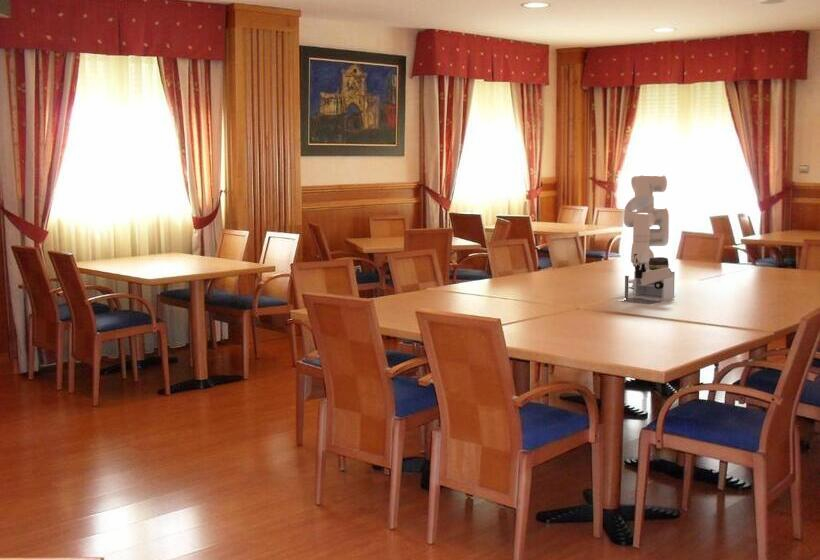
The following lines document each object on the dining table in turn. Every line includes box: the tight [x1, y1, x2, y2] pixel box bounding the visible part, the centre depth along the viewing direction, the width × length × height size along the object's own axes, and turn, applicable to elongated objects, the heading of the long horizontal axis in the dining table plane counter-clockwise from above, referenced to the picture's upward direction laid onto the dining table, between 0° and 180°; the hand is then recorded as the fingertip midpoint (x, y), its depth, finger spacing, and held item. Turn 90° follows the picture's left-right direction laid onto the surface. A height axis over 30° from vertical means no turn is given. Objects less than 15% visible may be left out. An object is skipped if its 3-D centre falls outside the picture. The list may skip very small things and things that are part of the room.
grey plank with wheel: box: [640, 266, 673, 289], centre depth 463 cm, size 4×10×15 cm
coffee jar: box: [648, 256, 670, 270], centre depth 489 cm, size 10×8×19 cm
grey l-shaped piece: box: [624, 275, 662, 305], centre depth 468 cm, size 18×11×11 cm, turn 47°
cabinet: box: [633, 270, 675, 302], centre depth 477 cm, size 16×10×13 cm, turn 47°
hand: (640, 277), depth 467 cm, fingers closed on grey plank with wheel, 3 cm apart
